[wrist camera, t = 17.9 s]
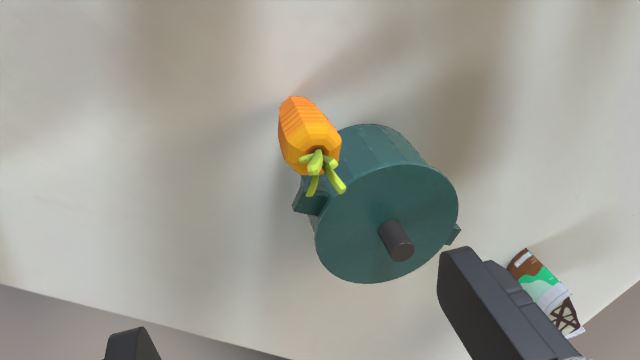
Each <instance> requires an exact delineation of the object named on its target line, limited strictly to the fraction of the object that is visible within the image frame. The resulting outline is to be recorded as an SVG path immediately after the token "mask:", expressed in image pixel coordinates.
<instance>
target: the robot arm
mask: <svg viewBox="0 0 640 360" xmlns="http://www.w3.org/2000/svg"><path fill="white" fill-rule="evenodd" d="M437 296H438V300H439V303H440V306H441V308H442V310H443V312H444V313H445V315H446V317H447V318H448V320H449V322H450V323H451V325H452V327H453V328H454V330H455V331H456V333H457V335H458V336H459V338H460V340H461V341H462V343H463V345H464V346H465V348H466V350H467V351H468V353H469V355H470V356H471V358H472V360H594V359H590V358H587V357H583V356H582V355H581V354H580V353H578V351H577V350H576V349H575V348H574V347H573V346H572V345H571V344H570V342H569V341H568V340H567V339H566V338H565V336H564V335H563V334H562V333H561V332H560V331H559V329H558V328H557V327H556V326H555V325H554V323H553V322H552V321H551V320H550V319H549V318H548V316H547V315H546V314H545V313H544V312H543V311H542V309H541V308H540V307H539V306H538V305H537V303H536V302H533V299H532V298H531V296H530V295H529V294H528V293H527V292H526V290H523V289H522V286H521V285H520V283H519V282H518V281H517V280H516V279H515V278H514V276H513V275H512V274H511V273H510V272H509V271H508V270H506V269H505V268H503V267H502V266H500V265H498V264H497V263H495V262H494V261H492V260H489V261H485V262H482V260H481V259H480V258H479V257H478V255H477V254H476V253H475V252H474V250H473V249H472V248H470V247H469V246H464V247H460V248H456V249H452V250H448V251H445V252H442V253H441V254H440V258H439V268H438V279H437ZM103 360H161V358H160V356H159V354H158V352H157V350H156V348H155V346H154V344H153V342H152V340H151V338H150V336H149V334H148V332H147V330H146V329H145V328H144V327H138V328H135V329H131V330H127V331H123V332H119V333H115V334H112V335H111V336H110V337H109V339H108V343H107V348H106V353H105V358H104V359H103Z"/></svg>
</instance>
